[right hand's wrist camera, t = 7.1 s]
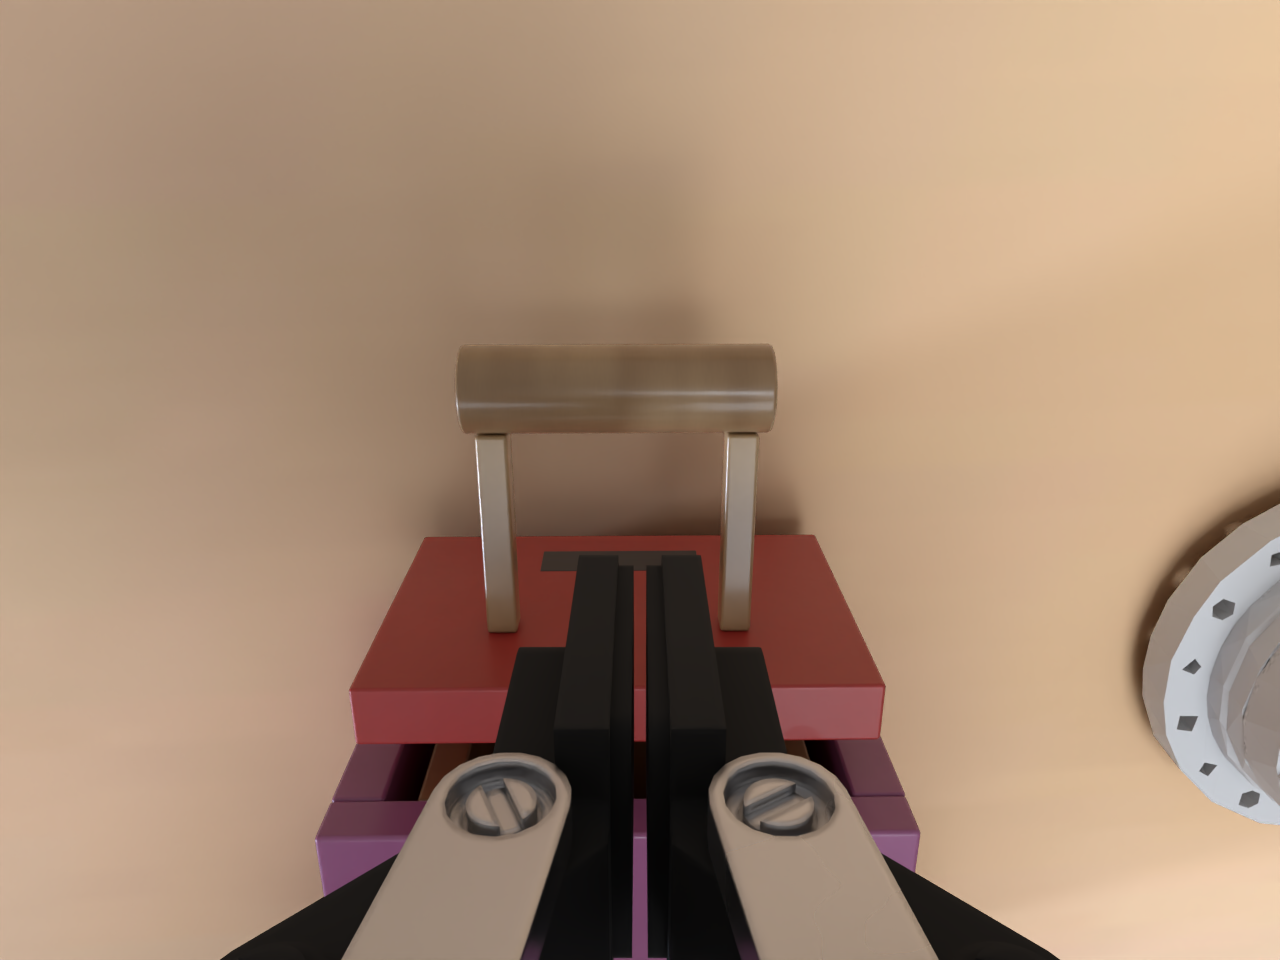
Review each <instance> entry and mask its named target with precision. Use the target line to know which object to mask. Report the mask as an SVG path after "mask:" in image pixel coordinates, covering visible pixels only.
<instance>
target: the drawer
mask: <svg viewBox="0 0 1280 960" xmlns="http://www.w3.org/2000/svg"><path fill="white" fill-rule="evenodd" d="M455 402H456V411H457V417H458V422H459V425H460V428H461V430H462V432H464V433H466V434H477V435H476V437H475V452H476V467H477V482H478V496H479V511H480V526H481V537H426V538H424V541H423V543H422V545H421V547H420V549H419V551H418V553H417V555H416V557H415V559H414V561H413V563H412V565H411V567H410V569H409V571H408V573H407V575H406V577H405V579H404V581H403V583H402V585H401V587H400V589H399V591H398V593H397V595H396V597H395V599H394V601H393V603H392V605H391V607H390V609H389V611H388V613H387V615H386V617H385V619H384V621H383V623H382V625H381V627H380V629H379V631H378V633H377V635H376V637H375V639H374V641H373V643H372V645H371V647H370V649H369V651H368V653H367V655H366V657H365V659H364V661H363V663H362V665H361V667H360V669H359V671H358V673H357V675H356V677H355V679H354V681H353V683H352V685H351V687H350V690H349V695H350V702H351V709H352V717H353V724H354V732H355V739H356V743H357V744H435V746H434V750H433V753H432V756H431V759H430V762H429V766H428V769H427V772H426V775H425V778H424V782H423V785H422V788H421V791H420V794H419V798H418V801H428V799H429V797H430V795H431V793H432V792H433V790H434V788H435V787H436V786H437V785H438V783H439V782H440V781H441V780H442V778H443V777H444V776H445V775H446V774H448V773H449V772H451V771H452V770H453V769H455V768H456V767H458V766H459V765H461V764H463V763H466V762H468V761H470V760H473V759H475V758H478V757H481V756H486V755H491V754H493V750H494V746H495V742H496V738H497V734H498V730H499V725H500V721H501V717H502V713H503V709H504V705H505V700H506V696H507V692H508V688H509V684H510V680H511V676H512V671H513V667H514V663H515V659H516V655H517V652H518V649H519V648H520V647H566V640H567V633H568V627H569V620H570V613H571V606H572V599H573V593H574V586H575V579H576V572H577V565H578V559H579V555H618V558H619V565H634V799H646V565H661V558H662V555H701V559H702V565H703V572H704V579H705V586H706V593H707V599H708V606H709V613H710V620H711V627H712V633H713V640H714V647H760V648H761V649H762V652H763V655H764V659H765V663H766V667H767V671H768V676H769V680H770V684H771V688H772V692H773V696H774V700H775V705H776V709H777V713H778V717H779V721H780V725H781V730H782V734H783V738H784V742H785V746H786V750H787V754H789V755H794V756H799V757H802V758H805V759H807V760H810V758H809V755H808V751H807V748H806V744H805V741H804V740H873V739H879V737H880V731H881V722H882V713H883V704H884V695H885V687H886V686H885V684H884V682H883V680H882V677H881V675H880V673H879V671H878V669H877V667H876V665H875V663H874V660H873V658H872V656H871V654H870V652H869V650H868V648H867V646H866V643H865V641H864V639H863V637H862V635H861V633H860V631H859V629H858V626H857V624H856V622H855V620H854V618H853V616H852V614H851V612H850V609H849V607H848V605H847V603H846V601H845V599H844V597H843V595H842V592H841V590H840V588H839V586H838V584H837V582H836V580H835V578H834V575H833V573H832V571H831V569H830V567H829V565H828V563H827V561H826V558H825V556H824V554H823V552H822V550H821V548H820V546H819V544H818V541H817V539H816V537H815V535H755V515H756V494H757V474H758V454H759V436H758V434H757V432H769V431H771V429H772V427H773V424H774V420H775V415H776V406H777V366H776V358H775V353H774V350H773V347H772V346H771V345H769V344H579V345H463V346H461V347H460V349H459V352H458V355H457V359H456V367H455ZM713 432H724V447H723V476H722V505H721V534H720V535H689V536H523V537H516V525H515V507H514V488H513V469H512V450H511V433H713Z"/></svg>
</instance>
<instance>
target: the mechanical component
mask: <svg viewBox="0 0 1280 960" xmlns="http://www.w3.org/2000/svg"><path fill="white" fill-rule="evenodd" d="M1142 696H1143V700H1144V703H1145V707H1146V710H1147V714H1148V717H1149V721H1150V725H1151V728H1152V732H1153V735H1154V737H1155V738H1156V739H1157V741H1158V742H1159V743H1160V744H1161V746H1162V747H1163V748H1164V750H1165V751H1166V752H1167V753H1168V755H1169V756H1170V757H1171V759H1172V760H1173V761H1174V762H1175V764H1176V765H1177V766H1178V767H1179V769H1180V770H1181V771H1182V772H1183V773H1184V774H1185V775H1186V776H1187V777H1188V778H1189V779H1190V780H1191V781H1192V782H1193V783H1194V784H1195V785H1196V786H1197V787H1198V788H1199V789H1200V790H1201V791H1202V792H1203V793H1204V794H1205V795H1206V796H1207V797H1208V798H1209V799H1210V800H1211V801H1212V802H1214V803H1216V804H1218V805H1220V806H1223V807H1225V808H1227V809H1229V810H1232V811H1234V812H1236V813H1238V814H1241V815H1243V816H1245V817H1247V818H1249V819H1252V820H1254V821H1256V822H1258V823H1265V824H1274V825H1280V504H1278V505H1277V506H1275V507H1273V508H1271V509H1269V510H1267V511H1265V512H1264V513H1262V514H1260V515H1258V516H1256V517H1254V518H1252V519H1251V520H1249V521H1247V522H1245V523H1243V524H1242V525H1240V526H1239V527H1238V528H1237V529H1235V530H1234V531H1233V532H1232V533H1231V534H1229V535H1228V536H1227V537H1226V538H1224V539H1223V540H1222V541H1221V542H1219V543H1218V544H1217V545H1216V546H1215V547H1213V548H1212V549H1211V550H1210V551H1208V552H1207V553H1206V554H1205V555H1204V556H1202V557H1201V558H1200V559H1199V561H1198V562H1197V563H1196V565H1195V566H1194V567H1193V568H1192V570H1191V571H1190V572H1189V573H1188V575H1187V576H1186V577H1185V579H1184V580H1183V581H1182V582H1181V584H1180V585H1179V586H1178V588H1177V589H1176V590H1175V591H1174V593H1173V594H1172V595H1171V597H1170V598H1169V599H1168V601H1167V603H1166V605H1165V607H1164V609H1163V611H1162V613H1161V615H1160V617H1159V620H1158V622H1157V624H1156V626H1155V628H1154V630H1153V632H1152V634H1151V637H1150V641H1149V645H1148V650H1147V654H1146V658H1145V662H1144V666H1143V690H1142Z"/></svg>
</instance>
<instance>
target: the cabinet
mask: <svg viewBox="0 0 1280 960" xmlns="http://www.w3.org/2000/svg"><path fill="white" fill-rule="evenodd" d="M804 741H805V744H806V748H807V751H808V755H809V758H810V761H812V762H814V763H817V764H819V765H821V766H822V767H824V768H825V769H827V770H828V771H829V772H831V773H832V774H834V775H835V776H836V777H837V778H838V780H839V781H840V782H841V783H842V785H843V786H844V787H845V788H846V790H847V792H848V793H849V795H850V797H851V799H852V801H853V803H854V804H855V806H856V808H857V810H858V812H859V814H860V816H861V817H862V819H863V821H864V823H865V825H866V827H867V828H868V830H869V832H870V834H871V836H872V838H873V839H874V841H875V843H876V845H877V847H878V849H879V851H880V852H881V853H882V854H884V855H886V856H887V857H889V858H891V859H892V860H894V861H896V862H897V863H899V864H901V865H903V866H904V867H906V868H908V869H909V870H911V871H913V872H914V873H915V868H916V861H917V853H918V846H919V839H920V830H919V828H918V826H917V823H916V821H915V818H914V816H913V814H912V811H911V809H910V807H909V804H908V802H907V800H906V798H905V793H904V791H903V788H902V786H901V784H900V781H899V779H898V777H897V774H896V772H895V770H894V767H893V765H892V762H891V760H890V758H889V755H888V753H887V751H886V748H885V746H884V744H883V741H882V739H881V736H880V737H879V739H873V740H804ZM434 746H435V744H356V746H355V749H354V751H353V753H352V755H351V758H350V760H349V762H348V764H347V767H346V769H345V771H344V774H343V776H342V778H341V780H340V783H339V785H338V787H337V789H336V792H335V794H334V796H333V799H332V803H331V804H330V806H329V808H328V810H327V813H326V815H325V817H324V819H323V822H322V824H321V826H320V828H319V831H318V833H317V835H316V838H315V842H316V849H317V855H318V861H319V867H320V874H321V880H322V886H323V892H324V897H325V896H326V895H328V894H330V893H332V892H333V891H335V890H337V889H338V888H340V887H342V886H343V885H345V884H347V883H349V882H350V881H352V880H354V879H355V878H357V877H359V876H360V875H362V874H364V873H366V872H367V871H369V870H371V869H372V868H374V867H376V866H377V865H379V864H381V863H383V862H384V861H386V860H388V859H389V858H391V857H393V856H394V855H396V854H398V853H399V852H400V851H401V849H402V847H403V845H404V843H405V841H406V839H407V838H408V836H409V834H410V832H411V830H412V828H413V827H414V825H415V823H416V821H417V819H418V817H419V816H420V814H421V812H422V810H423V808H424V806H425V804H426V803H427V801H418V798H419V794H420V791H421V788H422V785H423V782H424V778H425V775H426V772H427V769H428V766H429V762H430V759H431V756H432V753H433V750H434ZM614 960H666V958H648V927H647V822H646V799H634V822H633V927H632V958H614Z"/></svg>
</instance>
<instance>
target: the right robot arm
mask: <svg viewBox="0 0 1280 960" xmlns="http://www.w3.org/2000/svg"><path fill="white" fill-rule="evenodd" d="M633 822H634V565H619V558H618V555H579V559H578V565H577V572H576V579H575V586H574V593H573V599H572V606H571V613H570V620H569V627H568V633H567V640H566V647H520V648H519V649H518V652H517V655H516V659H515V663H514V667H513V671H512V676H511V680H510V684H509V688H508V692H507V696H506V700H505V705H504V709H503V713H502V717H501V721H500V725H499V730H498V734H497V738H496V742H495V746H494V750H493V754H491V755H486V756H481V757H478V758H475V759H473V760H470V761H468V762H466V763H463V764H461V765H459V766H458V767H456V768H455V769H453V770H452V771H451V772H449V773H448V774H446V775H445V776H444V777H443V778H442V780H441V781H440V782H439V783H438V785H437V786H436V787H435V788H434V790H433V792H432V793H431V795H430V797H429V799H428V801H427V803H426V804H425V806H424V808H423V810H422V812H421V814H420V816H419V817H418V819H417V821H416V823H415V825H414V827H413V828H412V830H411V832H410V834H409V836H408V838H407V839H406V841H405V843H404V845H403V847H402V849H401V851H400V852H399V853H398V854H396V855H394V856H393V857H391V858H389V859H388V860H386V861H384V862H383V863H381V864H379V865H377V866H376V867H374V868H372V869H371V870H369V871H367V872H366V873H364V874H362V875H360V876H359V877H357V878H355V879H354V880H352V881H350V882H349V883H347V884H345V885H343V886H342V887H340V888H338V889H337V890H335V891H333V892H332V893H330V894H328V895H326V896H325V897H323V898H321V899H320V900H318V901H316V902H315V903H313V904H311V905H309V906H308V907H306V908H304V909H303V910H301V911H299V912H298V913H296V914H294V915H292V916H291V917H289V918H287V919H286V920H284V921H282V922H281V923H279V924H277V925H275V926H274V927H272V928H270V929H269V930H267V931H265V932H264V933H262V934H260V935H258V936H257V937H255V938H253V939H252V940H250V941H248V942H247V943H245V944H243V945H241V946H240V947H238V948H236V949H235V950H233V951H231V952H230V953H229V954H227V955H226V956H225V957H223V958H222V959H220V960H614V958H632V927H633ZM646 822H647V927H648V958H666V960H1060V959H1058V958H1057V957H1055V956H1054V955H1053V954H1051V953H1050V952H1049V951H1047V950H1045V949H1044V948H1042V947H1040V946H1039V945H1037V944H1035V943H1033V942H1032V941H1030V940H1028V939H1027V938H1025V937H1023V936H1022V935H1020V934H1018V933H1016V932H1015V931H1013V930H1011V929H1010V928H1008V927H1006V926H1005V925H1003V924H1001V923H999V922H998V921H996V920H994V919H993V918H991V917H989V916H988V915H986V914H984V913H982V912H981V911H979V910H977V909H976V908H974V907H972V906H971V905H969V904H967V903H965V902H964V901H962V900H960V899H959V898H957V897H955V896H954V895H952V894H950V893H948V892H947V891H945V890H943V889H942V888H940V887H938V886H937V885H935V884H933V883H931V882H930V881H928V880H926V879H925V878H923V877H921V876H920V875H918V874H916V873H914V872H913V871H911V870H909V869H908V868H906V867H904V866H903V865H901V864H899V863H897V862H896V861H894V860H892V859H891V858H889V857H887V856H886V855H884V854H882V853H881V852H880V851H879V849H878V847H877V845H876V843H875V841H874V839H873V838H872V836H871V834H870V832H869V830H868V828H867V827H866V825H865V823H864V821H863V819H862V817H861V816H860V814H859V812H858V810H857V808H856V806H855V804H854V803H853V801H852V799H851V797H850V795H849V793H848V792H847V790H846V788H845V787H844V786H843V785H842V783H841V782H840V781H839V780H838V778H837V777H836V776H835V775H834V774H832V773H831V772H829V771H828V770H827V769H825V768H824V767H822V766H821V765H819V764H817V763H814V762H812V761H810V760H807V759H805V758H802V757H799V756H794V755H789V754H787V750H786V746H785V742H784V738H783V734H782V730H781V725H780V721H779V717H778V713H777V709H776V705H775V700H774V696H773V692H772V688H771V684H770V680H769V676H768V671H767V667H766V663H765V659H764V655H763V652H762V649H761V648H760V647H714V640H713V633H712V627H711V620H710V613H709V606H708V599H707V593H706V586H705V579H704V572H703V565H702V559H701V555H662V558H661V565H646Z"/></svg>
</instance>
